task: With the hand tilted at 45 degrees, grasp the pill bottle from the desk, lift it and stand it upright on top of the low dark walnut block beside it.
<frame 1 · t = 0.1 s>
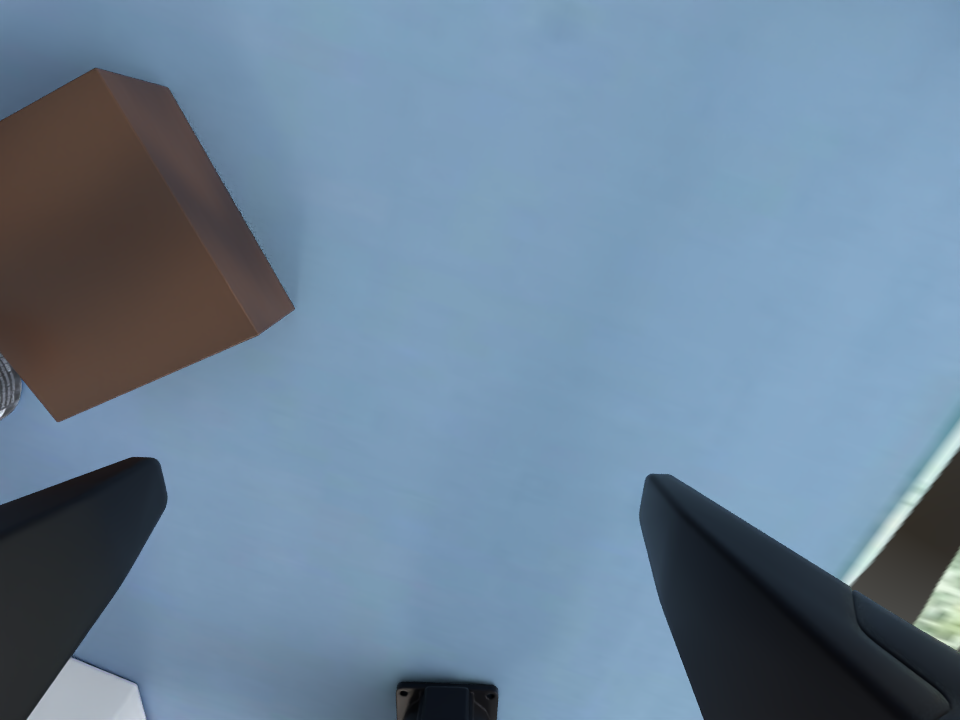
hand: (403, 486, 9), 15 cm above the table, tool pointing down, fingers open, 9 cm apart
jar: (88, 700, 33), on the table
block: (142, 251, 22), on the table
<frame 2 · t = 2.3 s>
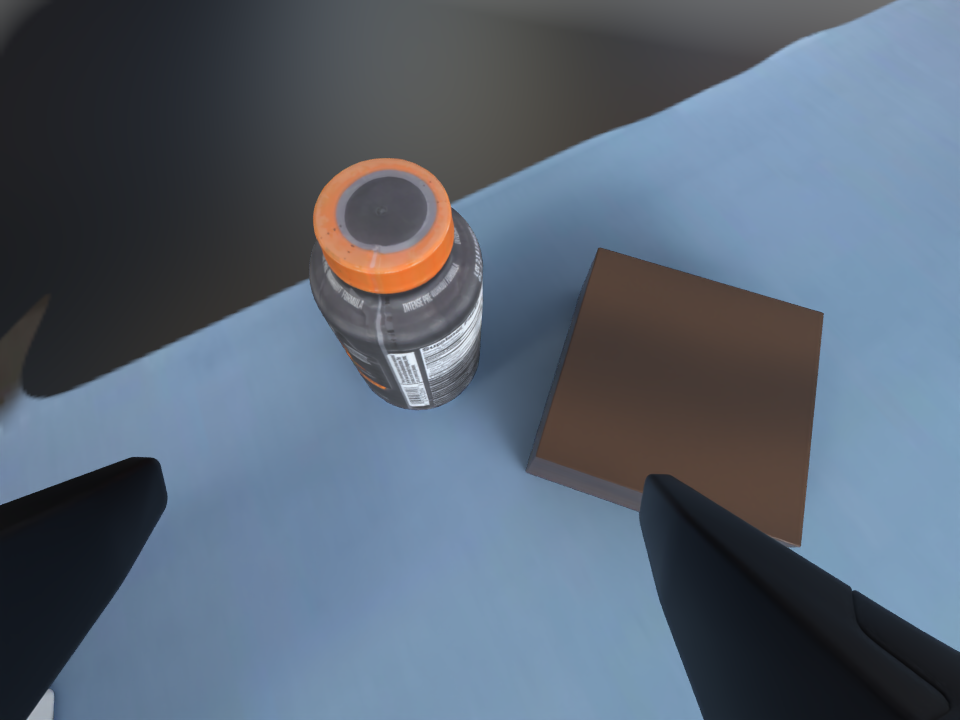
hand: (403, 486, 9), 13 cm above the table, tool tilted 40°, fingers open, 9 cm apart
block: (654, 407, 24), on the table
pill bottle: (420, 356, 25), on the table
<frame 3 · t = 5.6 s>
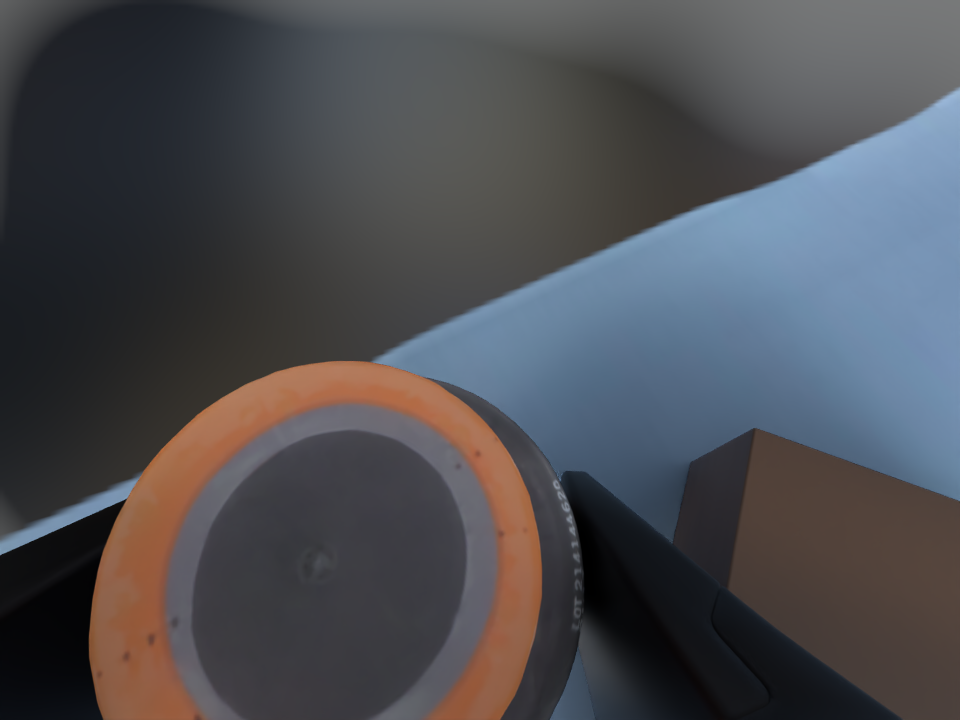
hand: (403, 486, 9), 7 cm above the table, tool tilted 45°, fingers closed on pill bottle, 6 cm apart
block: (833, 699, 13), on the table
pill bottle: (426, 573, 15), on the table, touching gripper
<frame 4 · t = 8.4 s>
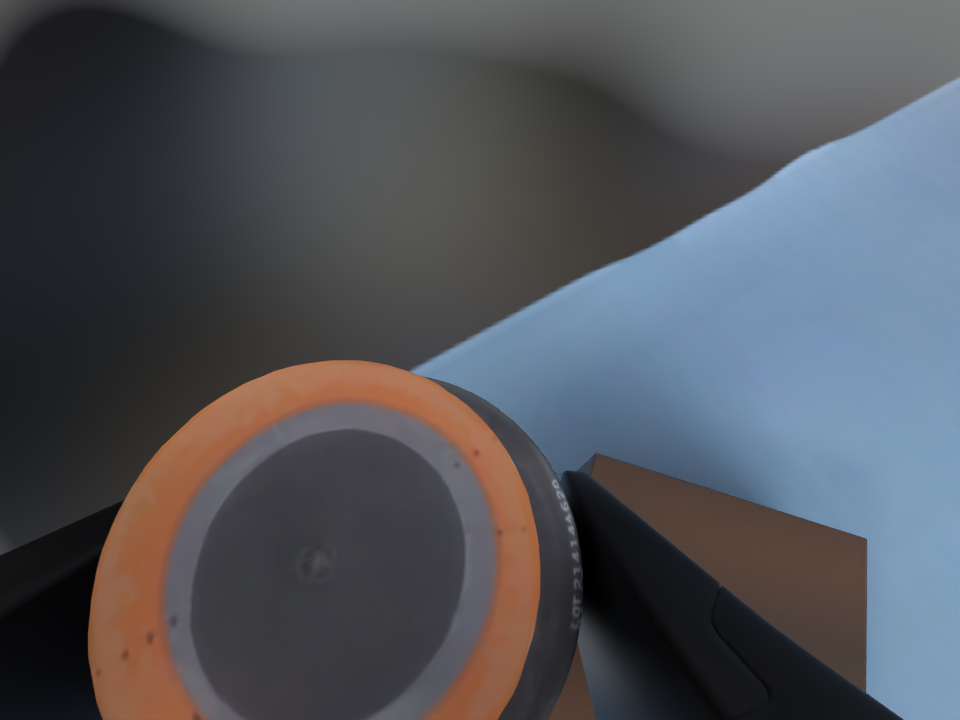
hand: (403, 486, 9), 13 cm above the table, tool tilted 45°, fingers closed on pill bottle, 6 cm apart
block: (666, 629, 20), on the table
pill bottle: (426, 572, 15), point 6 cm above the table, touching gripper
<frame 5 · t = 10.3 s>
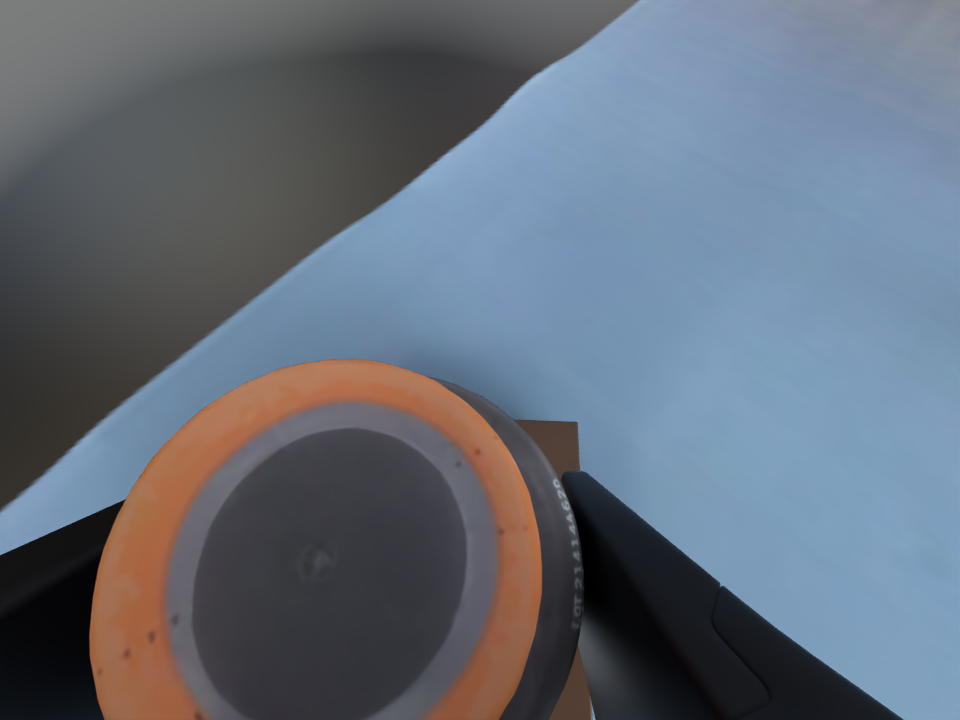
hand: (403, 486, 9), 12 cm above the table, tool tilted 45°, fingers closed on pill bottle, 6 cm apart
block: (439, 566, 20), on the table
pill bottle: (427, 572, 15), point 5 cm above the table, touching gripper
when the fingers open (11 cm above the table, at t = 11.4 s): pill bottle stays where it is, resting on block.
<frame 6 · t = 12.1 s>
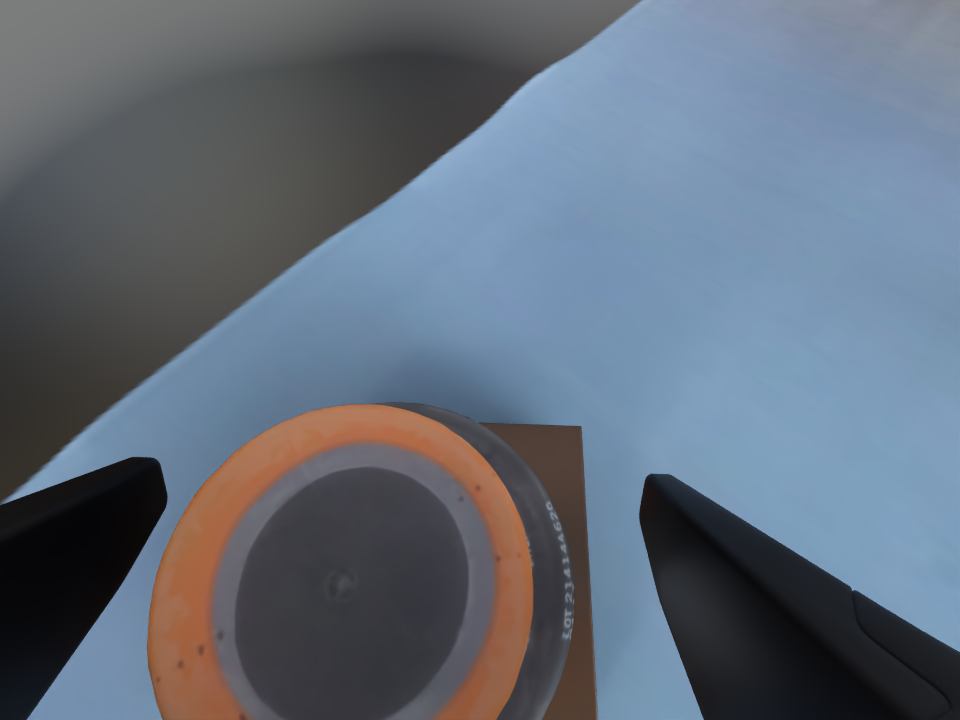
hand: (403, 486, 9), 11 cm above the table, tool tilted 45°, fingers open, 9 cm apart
block: (437, 576, 19), on the table, touching pill bottle
pill bottle: (429, 580, 15), point 4 cm above the table, touching block
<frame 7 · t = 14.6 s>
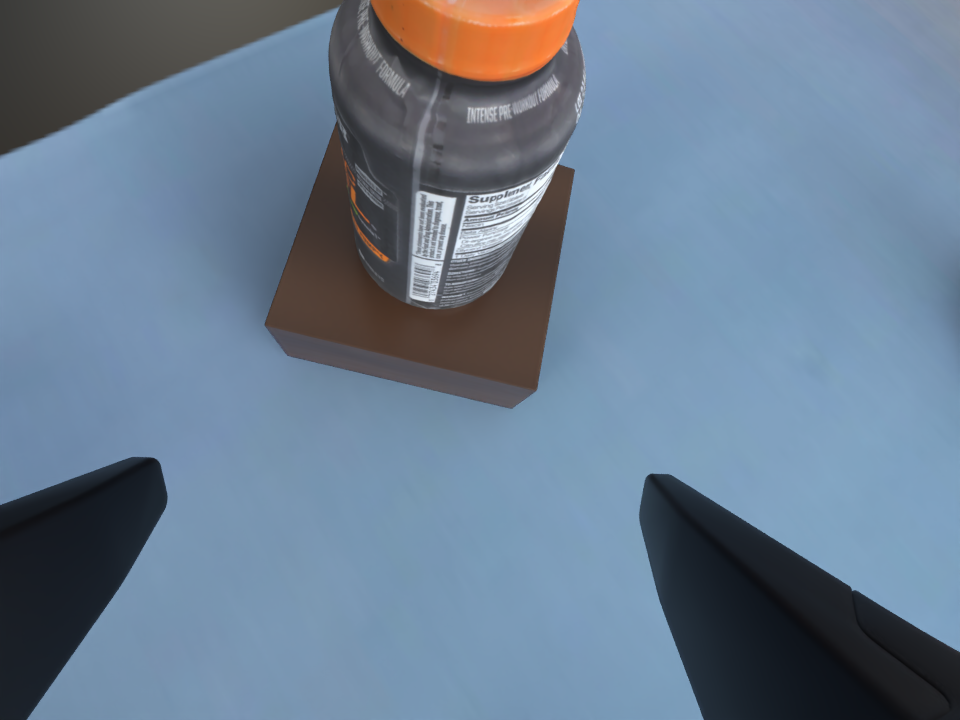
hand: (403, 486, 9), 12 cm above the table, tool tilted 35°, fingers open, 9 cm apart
block: (428, 281, 23), on the table, touching pill bottle
pill bottle: (433, 244, 19), point 4 cm above the table, touching block
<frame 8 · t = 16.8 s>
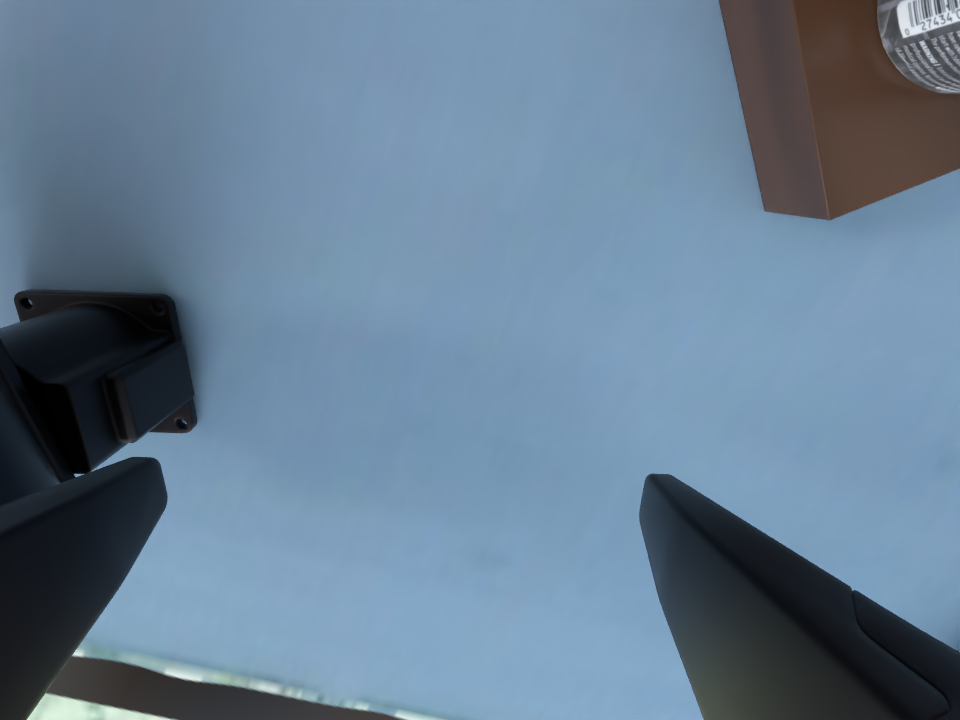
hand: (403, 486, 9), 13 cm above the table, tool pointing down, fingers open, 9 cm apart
block: (876, 18, 17), on the table, touching pill bottle
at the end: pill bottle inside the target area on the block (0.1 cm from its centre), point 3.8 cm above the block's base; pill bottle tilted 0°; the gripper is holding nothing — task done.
